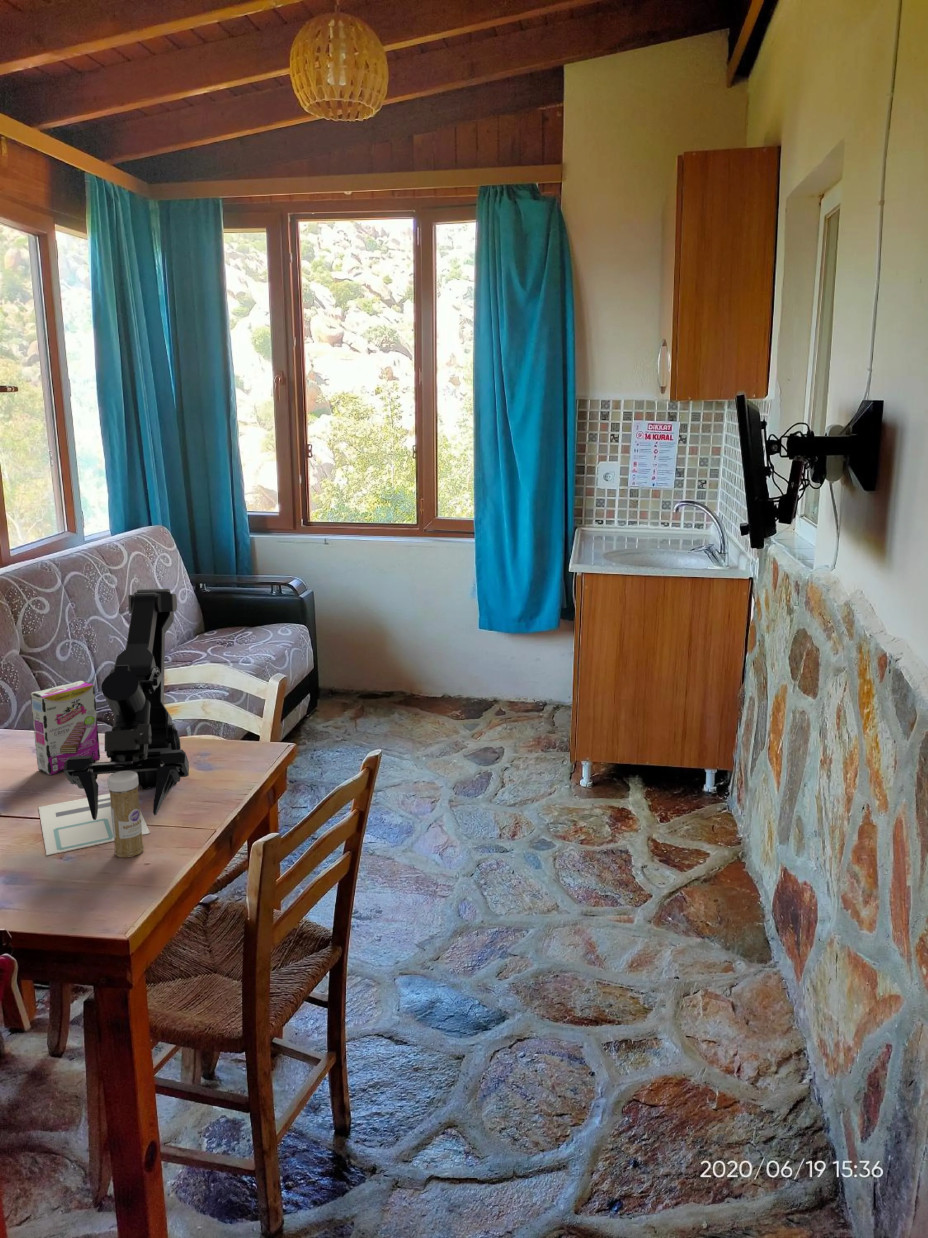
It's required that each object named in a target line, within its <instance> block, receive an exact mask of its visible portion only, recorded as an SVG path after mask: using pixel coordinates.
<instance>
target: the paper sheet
mask: <svg viewBox="0 0 928 1238" xmlns="http://www.w3.org/2000/svg"><path fill="white" fill-rule="evenodd" d="M38 811H39V818H40V823H41V830H42V836H43V842H44V848H45V855H46V856H47V857H48V856H52V855H56V854H61V853H64V852H65V853H66V852H70V851H75V850H79V849H84V848H89V847H94V846H98V845H104V844H107V843H112V842H115V841H114V836H113V826H112V816H111V801H110V793H105V794H100V795H99V794H98V813H97V818H96V820H93V818H92V815H91V811H90V807H89V803H88V800H87V797H84V798H79V799H74V800H69V801H64V802H57V803H51V804H48V805H43V806H42V805H41V806H38ZM140 813H141V823H142V836H146V835H149V834H151V833H150V830H149V828H148V825H147V823H146V820H145V818H144V816H143V813H142V811H141V810H140Z"/></svg>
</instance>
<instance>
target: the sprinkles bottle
mask: <svg viewBox="0 0 928 1238" xmlns="http://www.w3.org/2000/svg"><path fill="white" fill-rule="evenodd" d="M139 785H140V784H139V783H138V775H137V773H136V772H134V771H120V772H116V773H110V775H109V776H108V777H107V790H108V791H109V794H110V801H111V816H112V826H113V836H114V841H113V842H114V848H115V849H114V854H115V856H117V857H118V858H132V857H136V856H137V855H140V854H141V853H142V852H143V851H144V849H145V846H144V844H143V835H142V823H141V813H142V812H141V813H140V811H141V807H140V805H141V804H140V798H139V797H140V796H139Z"/></svg>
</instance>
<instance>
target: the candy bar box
mask: <svg viewBox="0 0 928 1238" xmlns="http://www.w3.org/2000/svg"><path fill="white" fill-rule="evenodd" d="M95 689H96V688H95V684H93V683H91V682H87V681H84V680H78V681H74V682H70V683H67V684H66V683H65V684H62V685H58V686H54V687H49V688H45V689H41V690H38V691H37V690H36V691H33V692H30V703H31V712H32V713H31V714H32V722H33V730H34V731H33V732H34V743H35V745H34V746H35V751H36V752H35V754H36V762H37V763H36V765H37V769H38V770H39V772H43V773H45V774H46V775H48V776H51V775H52V776H53V775H54V774H57V773H61V772H64V764H65V761H66V760H67V759H68V758H69V757H74V756H89V755H91V756H92V758H93V759H94V761H96V760H100V759H101V755H100V739H99V738H100V737H99V728H98V715H97V703H96V692H95V691H96V690H95Z"/></svg>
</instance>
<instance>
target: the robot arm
mask: <svg viewBox="0 0 928 1238" xmlns="http://www.w3.org/2000/svg"><path fill="white" fill-rule="evenodd" d="M127 598H128V599H127V600H128V613H129V614H130V620H129V626H128V627H129V628H128V633H127V634H128V635H127V639H126V645H125V649H124V650H123V651H122V652H120V653H119V654H118V655H117V656H116V658H115V663H114V667H113V668H111V669H110V672H109V673H108V675H107V676H106V677H105V678H104V679H103V681H102V683H101V692H102V694H103V697H104V699H105V701H106V703H107V705H108V706H109V709H110V711H111V713H113V721H112V725H113V726H112V727H111V730H107V731H104V753H105V752H106V753H105V755H106V757H107V758H108V759H110V761H104V762H103V761H98V762H97V761H96V760H94V759H93V758H92V756H91V755H89V756H74V757H69V758H68V759H67V760H66V761H65V764H64V771H63V773H64V775H65V776H66V778H67V780H68V781H69V783H70V784H71V785H75V786H77V788H78V789H80V790H81V789H82V790H83V791H84V793H85V796H86V798H87V800H88V803H89V807H90V811H91V815H92V818H93V820H96V818H97V813H98V796H99V784H98V782H97V779H98V775H104V774H105V775H107V774H110V775H111V774H113V773H116V772H120V771H134V772H136V773H137V775H138V783H139V784H138V785H139V786H140V788H141V790H149V789H154V788H155V790H154V797H153V803H152V814H153V816H157V815H158V812H159V810H160V809H161V806H162V804H163V803H164V801H165V798H166V797H167V795H168V793H169V792H170V790H171V789H172V788H173V786H174V784H177V783H178V782H180V781H181V779H182V778H186V777H189V775H190V772H189V771H190V764H189V763H190V762H189V759H188V756H187V753H186V751H184V750H183V749H182V748H181V739H180V734H179V731H178V729H177V728H176V725H175V723H173V717H172V716H171V714H170V712H169V711H168V709H167V708H166V707H165V705H164V704H165V701H164V700H165V661H166V660H165V655H166V653H165V649H166V647H165V645H166V633H167V632H168V630H169V629H170V627H171V626H172V624H173V623H174V616H175V615H174V614H175V612H177V609H178V599H177V594H176V593H171V590H170V588H150V589H149V588H148V589H147V588H145V589H137V590H136V592H134V593H133V594H128V596H127Z"/></svg>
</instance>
